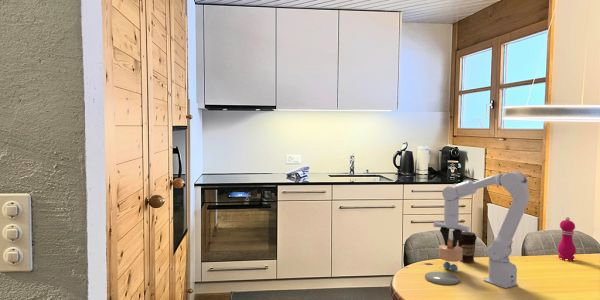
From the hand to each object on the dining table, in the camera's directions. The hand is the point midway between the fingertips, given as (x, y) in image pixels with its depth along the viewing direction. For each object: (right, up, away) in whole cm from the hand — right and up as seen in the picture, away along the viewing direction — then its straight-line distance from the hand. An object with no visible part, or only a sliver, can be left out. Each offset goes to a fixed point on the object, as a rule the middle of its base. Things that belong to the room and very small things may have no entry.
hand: (450, 245), depth 170 cm
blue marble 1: (-1, -10, +2) cm, 11 cm away
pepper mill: (+61, -11, +17) cm, 64 cm away
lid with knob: (0, -5, 0) cm, 5 cm away
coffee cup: (+12, -10, +13) cm, 21 cm away
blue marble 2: (+1, -11, -1) cm, 11 cm away
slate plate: (-8, -11, -11) cm, 17 cm away
